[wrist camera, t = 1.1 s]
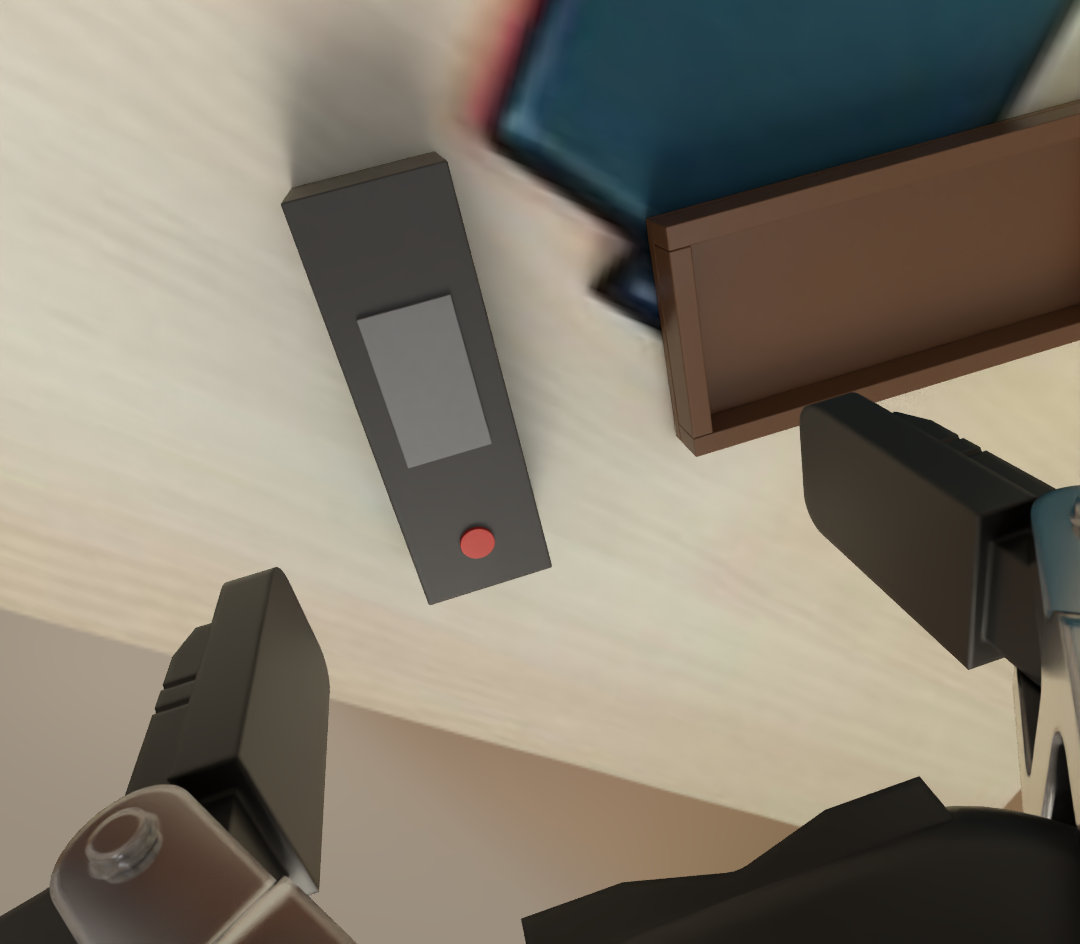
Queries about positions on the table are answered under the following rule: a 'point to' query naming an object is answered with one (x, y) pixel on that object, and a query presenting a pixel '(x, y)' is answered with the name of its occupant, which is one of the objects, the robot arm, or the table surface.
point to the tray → (870, 277)
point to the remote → (422, 368)
